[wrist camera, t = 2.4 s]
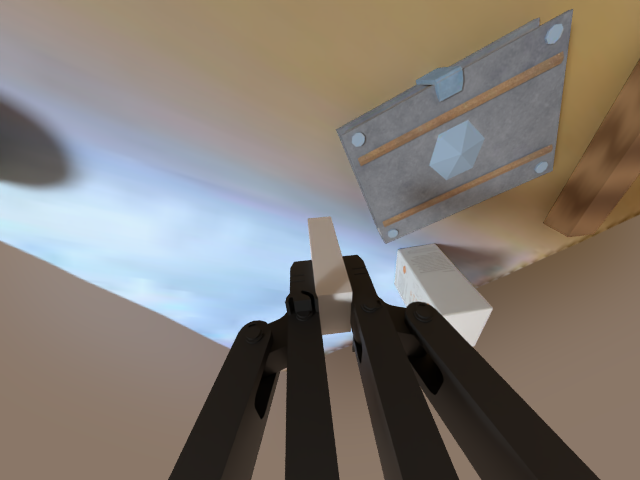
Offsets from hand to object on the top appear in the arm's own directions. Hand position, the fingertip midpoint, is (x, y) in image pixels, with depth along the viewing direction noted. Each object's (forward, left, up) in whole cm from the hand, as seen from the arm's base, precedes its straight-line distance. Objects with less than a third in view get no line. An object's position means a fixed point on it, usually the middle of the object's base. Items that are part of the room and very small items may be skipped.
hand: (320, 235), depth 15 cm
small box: (+18, +17, -15) cm, 29 cm away
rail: (0, +39, -15) cm, 41 cm away
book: (-1, +16, -16) cm, 23 cm away
